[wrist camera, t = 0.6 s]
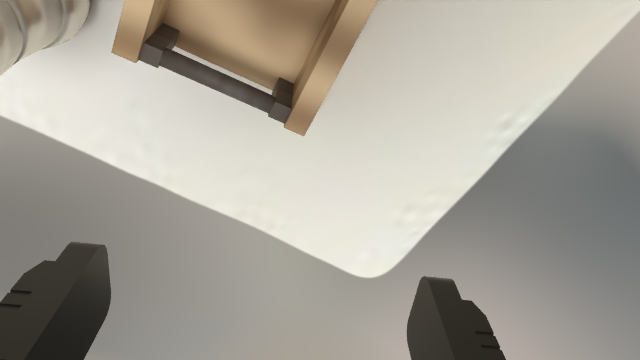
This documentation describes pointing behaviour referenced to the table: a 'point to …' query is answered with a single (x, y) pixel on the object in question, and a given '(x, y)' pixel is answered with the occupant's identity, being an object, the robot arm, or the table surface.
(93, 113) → the table surface
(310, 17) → the caddy
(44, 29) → the metal bottle
